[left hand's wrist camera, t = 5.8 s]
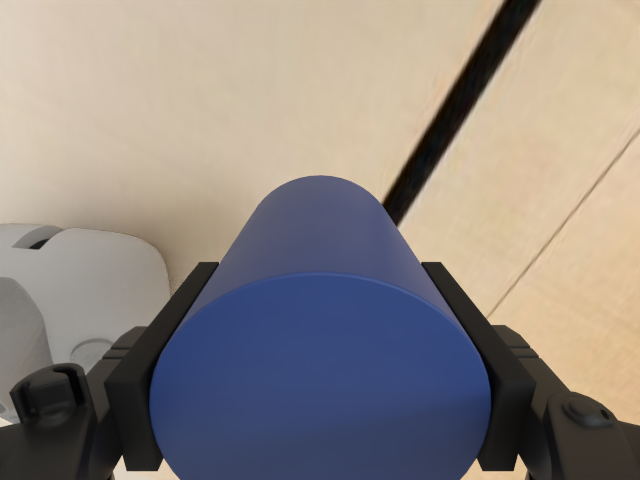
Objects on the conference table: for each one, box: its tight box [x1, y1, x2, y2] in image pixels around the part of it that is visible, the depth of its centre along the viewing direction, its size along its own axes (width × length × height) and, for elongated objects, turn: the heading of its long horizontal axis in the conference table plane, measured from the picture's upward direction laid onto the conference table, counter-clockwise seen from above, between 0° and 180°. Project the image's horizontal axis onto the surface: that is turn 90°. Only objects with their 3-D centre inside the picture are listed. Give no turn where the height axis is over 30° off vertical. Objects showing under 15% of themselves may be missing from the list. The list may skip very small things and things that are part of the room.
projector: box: [0, 224, 170, 424], centre depth 28 cm, size 22×23×15 cm
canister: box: [149, 175, 491, 480], centre depth 13 cm, size 8×8×11 cm
